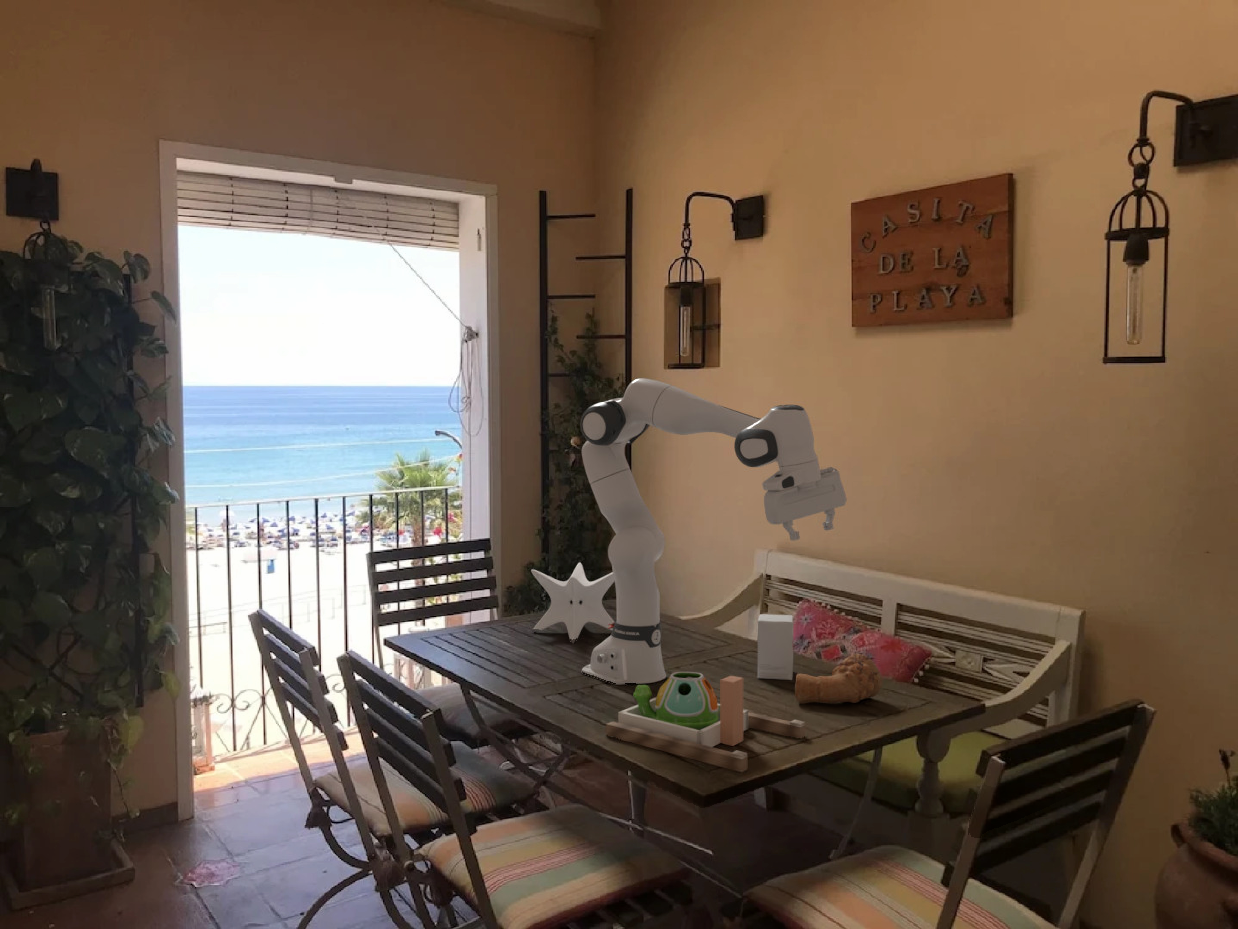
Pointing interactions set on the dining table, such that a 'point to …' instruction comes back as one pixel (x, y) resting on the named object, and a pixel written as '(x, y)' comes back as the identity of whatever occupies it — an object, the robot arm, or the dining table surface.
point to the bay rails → (703, 752)
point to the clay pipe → (841, 683)
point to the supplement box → (775, 646)
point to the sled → (722, 731)
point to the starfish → (575, 601)
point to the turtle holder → (681, 701)
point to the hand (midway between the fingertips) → (812, 534)
